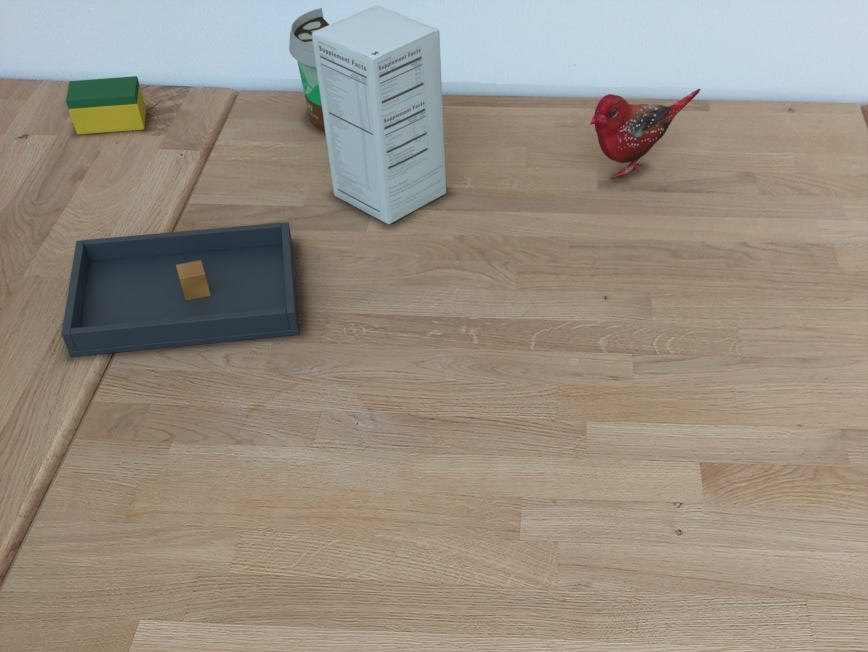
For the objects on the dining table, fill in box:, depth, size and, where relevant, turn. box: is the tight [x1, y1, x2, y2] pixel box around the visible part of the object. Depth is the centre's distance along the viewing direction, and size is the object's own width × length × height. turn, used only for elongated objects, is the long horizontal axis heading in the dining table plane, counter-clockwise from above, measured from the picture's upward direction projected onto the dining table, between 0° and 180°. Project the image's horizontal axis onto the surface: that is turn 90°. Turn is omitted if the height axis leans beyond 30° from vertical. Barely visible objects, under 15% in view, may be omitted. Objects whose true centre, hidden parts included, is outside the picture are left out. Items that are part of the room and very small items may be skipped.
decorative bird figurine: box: [589, 88, 701, 180], centre depth 107 cm, size 3×18×10 cm, turn 130°
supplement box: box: [312, 4, 447, 225], centre depth 101 cm, size 10×9×17 cm
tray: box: [60, 221, 300, 358], centre depth 96 cm, size 22×16×3 cm
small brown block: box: [176, 260, 211, 301], centre depth 95 cm, size 2×2×2 cm
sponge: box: [65, 75, 147, 136], centre depth 116 cm, size 8×5×4 cm, turn 99°
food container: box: [288, 7, 330, 133], centre depth 114 cm, size 12×6×10 cm, turn 27°
